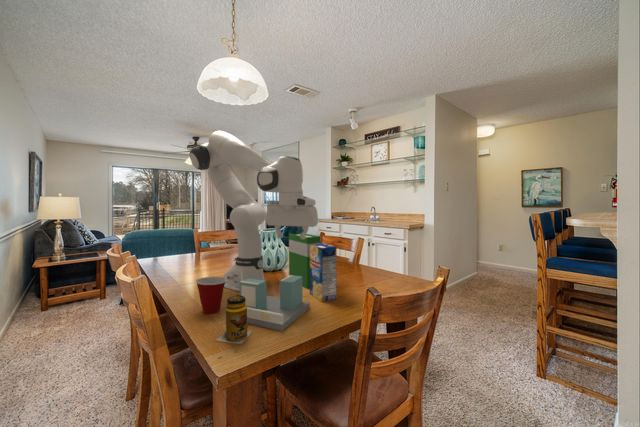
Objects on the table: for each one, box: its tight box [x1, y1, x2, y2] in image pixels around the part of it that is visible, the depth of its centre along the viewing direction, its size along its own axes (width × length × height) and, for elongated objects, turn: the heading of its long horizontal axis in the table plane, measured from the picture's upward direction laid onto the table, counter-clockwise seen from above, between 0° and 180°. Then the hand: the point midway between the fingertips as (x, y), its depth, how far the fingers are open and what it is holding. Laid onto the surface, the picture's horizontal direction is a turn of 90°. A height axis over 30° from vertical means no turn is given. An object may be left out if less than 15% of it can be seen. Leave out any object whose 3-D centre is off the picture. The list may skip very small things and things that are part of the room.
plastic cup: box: [195, 276, 227, 315], centre depth 99 cm, size 11×11×12 cm
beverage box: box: [309, 242, 338, 303], centre depth 114 cm, size 7×11×22 cm, turn 29°
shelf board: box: [247, 294, 311, 332], centre depth 97 cm, size 20×20×5 cm
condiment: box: [215, 294, 253, 345], centre depth 81 cm, size 7×8×12 cm
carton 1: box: [238, 278, 267, 310], centre depth 96 cm, size 8×5×10 cm, turn 66°
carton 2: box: [279, 275, 304, 310], centre depth 100 cm, size 8×5×10 cm, turn 156°
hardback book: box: [288, 232, 321, 290], centre depth 133 cm, size 18×7×24 cm, turn 35°
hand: (291, 238), depth 99 cm, fingers open, 8 cm apart
